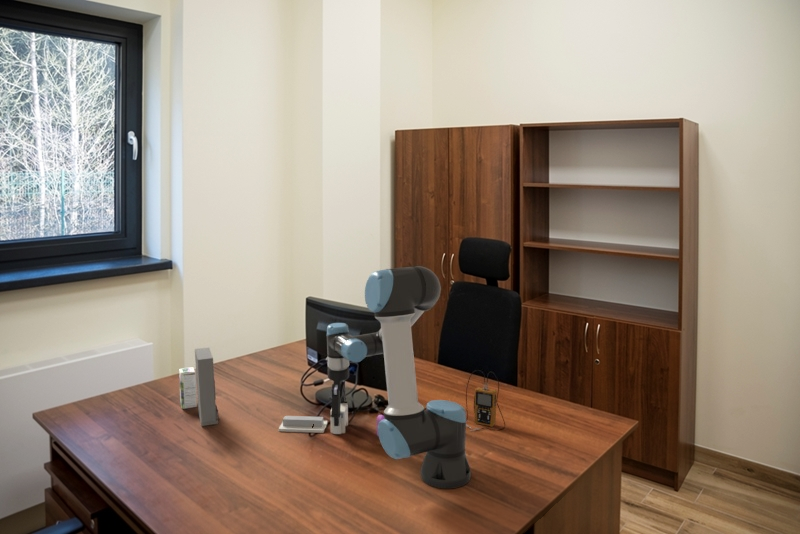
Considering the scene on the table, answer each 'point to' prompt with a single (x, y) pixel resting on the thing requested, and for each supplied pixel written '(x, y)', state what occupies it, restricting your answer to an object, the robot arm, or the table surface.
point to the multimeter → (484, 405)
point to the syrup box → (187, 388)
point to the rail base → (303, 429)
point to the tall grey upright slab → (206, 387)
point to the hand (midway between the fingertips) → (339, 427)
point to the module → (343, 417)
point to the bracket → (379, 421)
